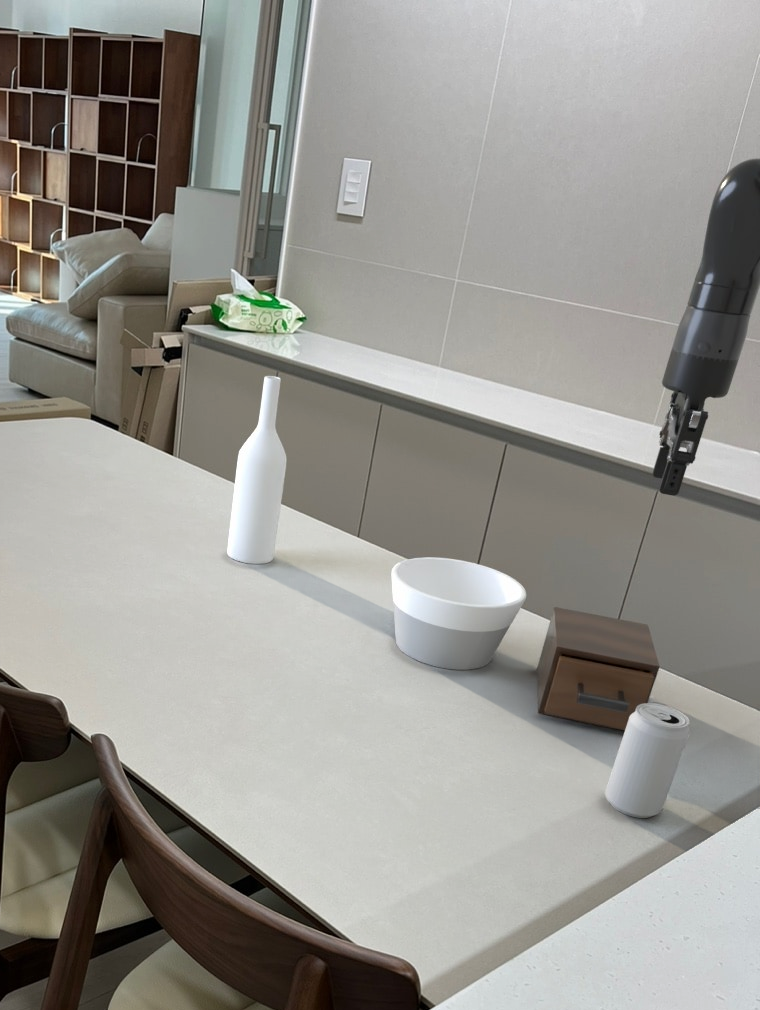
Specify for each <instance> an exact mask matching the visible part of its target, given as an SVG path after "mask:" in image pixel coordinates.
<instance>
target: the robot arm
mask: <svg viewBox="0 0 760 1010" xmlns="http://www.w3.org/2000/svg"><path fill="white" fill-rule="evenodd" d="M707 220H708V221H707V223H706V225H707V226H706V230H705V236H704V242H703V249H702V254H701V260H700V264H699V266H698V269H697V272H696V275H695V277H694V281H693V284H692V287H691V291H690V293H689V297H688V300H687V305H686V307H685V310H684V312H683V315H682V316H681V319H680V321H679V324H678V327H677V329H676V333H675V335H674V336H675V337H674V340H673V344H672V347H671V350H670V352H669V353H670V354H669V357H668V360H667V363H666V367H665V370H664V374H663V377H662V380H661V384H662V386H663V387H664V388H665V389H667V390H669V391H672V393H671V396H670V401H669V405H668V407H667V410H666V414H665V417H664V420H663V423H662V426H661V429H660V431H659V434H658V435H659V442H658V443H659V446H660V447H659V450H658V454H657V456H656V460H655V463H654V467H653V469H652V475H653V477H654V478H655V479H661V481H660V483H659V487H658V491H659V493H660V494H661V495H668V496H678V494H679V493H680V489H681V487H682V483H683V481H684V477H685V474H686V471H687V467H689V466H690V464H691V465H692V464H693V463H694V461H695V460H696V455H697V452H698V448H699V445H700V443H701V439H702V435H703V432H704V429H705V426H706V422H707V420H708V418H709V411H705V409H704V408H705V404H706V403H705V402H706V400H707V399H708V398H712V399H721V398H724V397H726V396H727V395H728V393H729V390H730V388H731V385H732V381H733V378H734V376H735V372H736V369H737V366H738V363H739V360H740V357H741V354H742V351H743V347H744V346H745V345H744V344H745V341H746V338H747V334H748V331H749V330H748V329H749V324H750V319H751V314H752V313H753V309H754V306H755V303H756V300H757V297H758V294H759V291H760V157H759V158H757V157H755V158H750V159H749V158H748V159H745V160H743V161H741V162H739V163H737V164H736V165H734V166H733V167H732V168H731V169H730V170H728V172H726V173H725V175H724V176H723V177H722V179H721V180H720V182H719V184H718V186H717V188H716V191H715V194H714V196H713V200H712V202H711V207H710V210H709V215H708V219H707ZM681 448H683V449H686V451H684V450H680V449H681Z"/></svg>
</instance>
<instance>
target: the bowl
mask: <svg viewBox="0 0 760 1010" xmlns="http://www.w3.org/2000/svg"><path fill="white" fill-rule="evenodd" d="M391 588H392V601H393V603H392V604H393V617H394V618H393V619H394V632H395V644H396V646H397V648H398V649H399V650H400V651H401V652H402V653H404V654H405V655H406V656H408V657H410V658H412V659H413V660H415V661H418V662H420V663H423V664H425V665H429V666H432V667H437V668H441V669H447V670H457V671H461V670H463V671H465V670H467V671H468V670H476V669H479V668H483V667H486V666H487V665H488V664H490V662H491V661H492V659H493V657H494V656H495V654H496V652H497V650H498V648H499V646H500V645H501V643H502V642H503V640H504V637H505V636H506V634H507V632H508V630H509V629H510V627H511V625H512V623H514V620H515V618H516V616H517V615H518V613H519V612H520V610H521V609H522V606H523V604H524V602H525V601H526V598H527V591H526V588H525V587H524V586H523V585H522V584H521V583H520V582H519V581H518V580H517V579H515V578H513V577H512V576H509V575H508V574H506V573H504V572H502V571H499V570H498V569H495V568H491V567H489V566H486V565H482V564H479V563H475V562H470V561H466V560H462V559H453V558H447V557H431V556H430V557H415V558H407V559H405V560H401V561H399V562H398V563H396V564H394V566H393V567H392V569H391Z"/></svg>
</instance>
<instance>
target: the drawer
mask: <svg viewBox="0 0 760 1010" xmlns="http://www.w3.org/2000/svg"><path fill="white" fill-rule="evenodd" d="M644 671H645V670H642V669H637V668H632V667H627V666H622V665H616V664H611V663H606V662H601V661H596V660H591V659H586V658H581V657H576V656H571V655H565V654H562V656H560V657H559V660H558V664H557V667H556V671H555V674H554V678H553V681H552V685H551V688H550V692H549V695H548V699H547V702H546V706H545V709H544V712H545V714H550V715H555V716H560V717H564V718H569V719H574V720H579V721H584V722H589V723H594V724H598V725H603V726H608V727H613V728H618V729H623V730H625V729H626V726H627V723H628V720H629V717H630V715H631V714H632V713H634V712H635V711H636V707H637V706H638V705H640V704H644V703H646V700H647V697H648V694H649V691H650V688H651V685H652V682H653V679H654V676H653V674H651V673H645V672H644ZM564 718H563V719H564ZM569 719H568V720H569ZM598 725H597V726H598Z"/></svg>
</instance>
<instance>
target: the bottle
mask: <svg viewBox="0 0 760 1010" xmlns="http://www.w3.org/2000/svg"><path fill="white" fill-rule="evenodd" d="M281 380H282V379H281V377H279V376H275V375H265V376H264V379H263V386H262V392H261V393H262V395H261V401H260V408H259V417H258V423H257V426H256V428H255V429H254V431H253V432H252V433H251V435H250V436H249V437H248V438H247V440H246V441H245V442H244V443H243V445H242V447H241V448H240V449H239V451H238V455H237V463H236V471H235V478H234V479H235V480H234V490H233V497H232V505H231V514H230V522H229V523H230V524H229V531H228V540H227V547H226V549H227V550H226V554H227V555H228V557H229V558H230V559H232V560H235V561H237V562H240V563H244V564H252V565H263V564H267V563H270V562H272V561H273V559H274V556H275V550H276V542H277V535H278V528H279V522H280V521H279V520H280V514H281V507H282V499H283V492H284V484H285V478H286V471H287V454H286V451H285V448H284V446H283V443H282V441H281V439H280V436H279V435H278V432H277V428H276V421H277V413H278V406H279V405H278V404H279V398H280V397H279V396H280V388H281V382H282V381H281Z"/></svg>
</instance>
